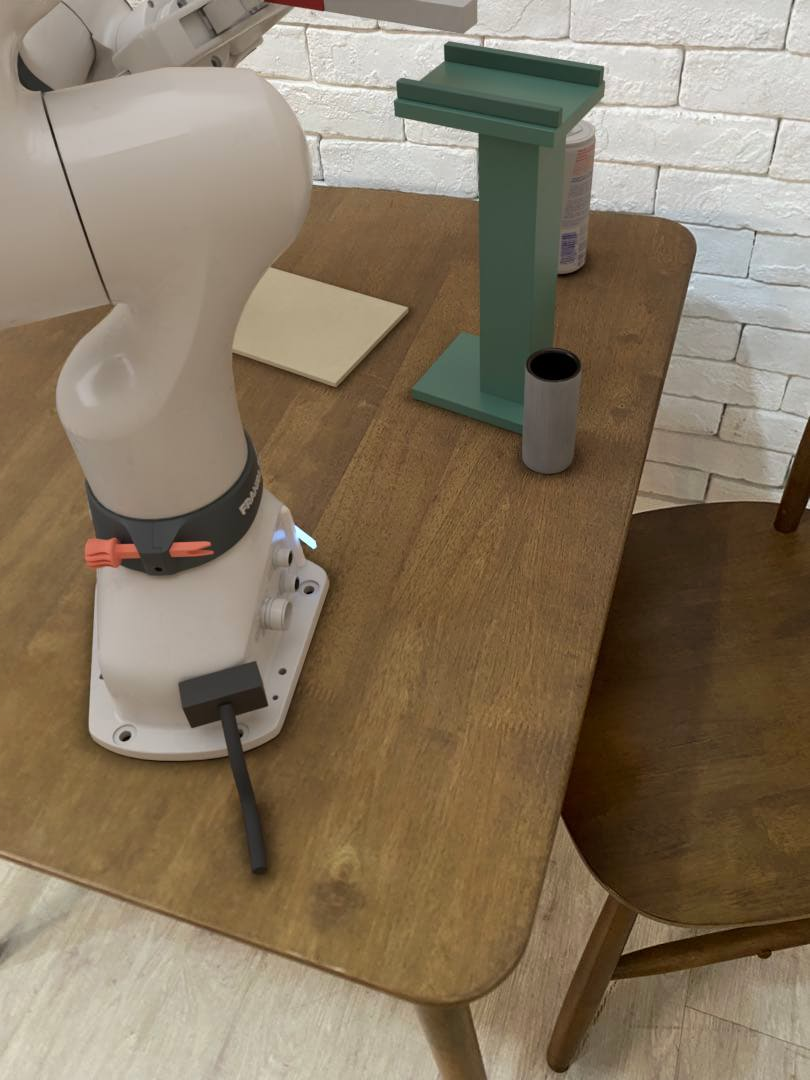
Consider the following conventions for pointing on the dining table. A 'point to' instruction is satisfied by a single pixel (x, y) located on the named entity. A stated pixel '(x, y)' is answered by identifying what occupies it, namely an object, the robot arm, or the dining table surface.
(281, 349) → the mat
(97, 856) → the dining table surface
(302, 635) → the robot arm
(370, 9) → the bar magnet
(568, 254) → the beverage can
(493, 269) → the stand
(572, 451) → the gray cylindrical cup
